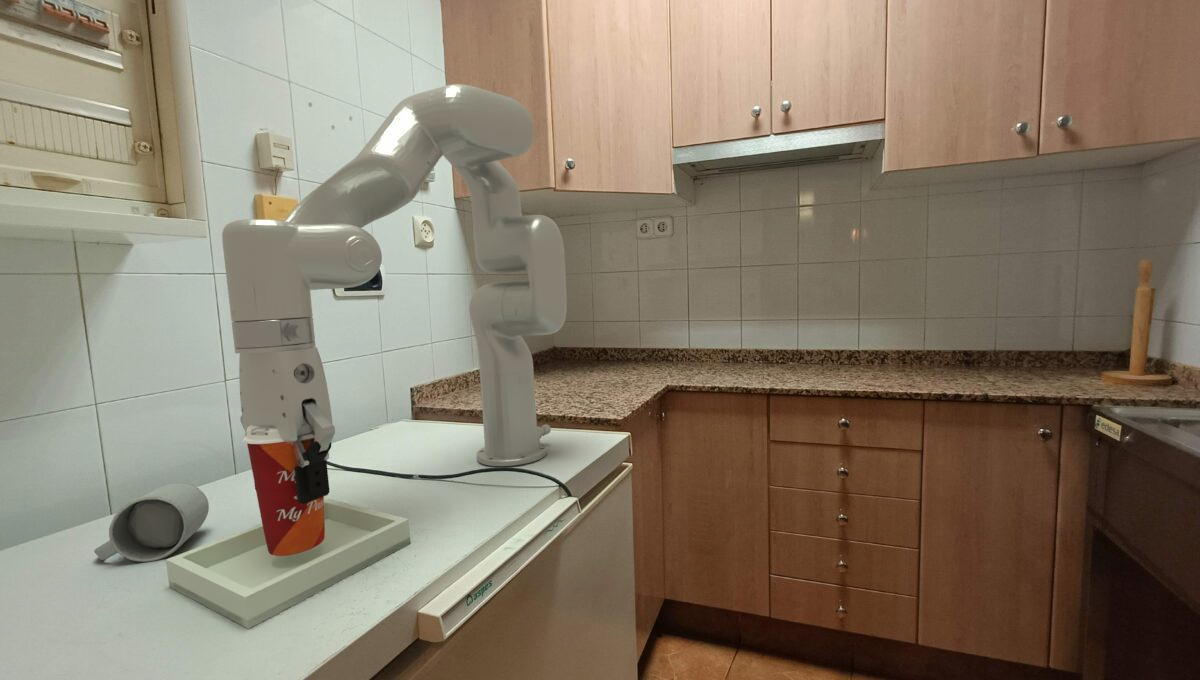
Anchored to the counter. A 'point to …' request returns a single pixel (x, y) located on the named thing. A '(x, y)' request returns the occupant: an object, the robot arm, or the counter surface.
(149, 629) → the counter surface
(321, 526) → the paper cup
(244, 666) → the counter surface
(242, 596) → the sage tray
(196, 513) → the ceramic mug
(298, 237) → the robot arm
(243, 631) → the counter surface
